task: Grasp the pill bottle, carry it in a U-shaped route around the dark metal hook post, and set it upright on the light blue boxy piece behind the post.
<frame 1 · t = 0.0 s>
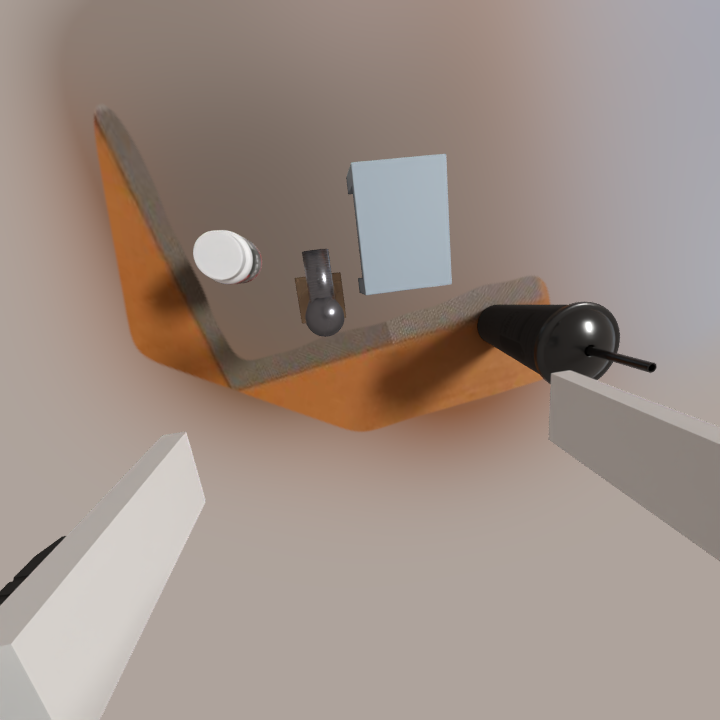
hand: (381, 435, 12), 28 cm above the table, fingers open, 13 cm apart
pill bottle: (240, 260, 36), on the table
light blue boxy piece: (393, 233, 37), on the table
hook post: (320, 297, 38), on the table
drinking cup: (494, 324, 41), on the table
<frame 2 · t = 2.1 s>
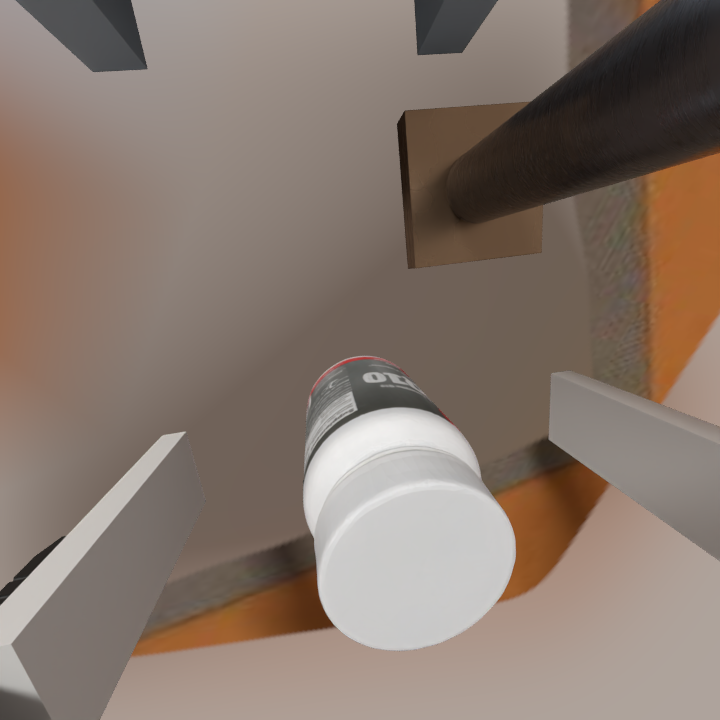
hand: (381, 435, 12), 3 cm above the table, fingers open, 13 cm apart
pill bottle: (361, 404, 15), on the table
hook post: (465, 193, 13), on the table
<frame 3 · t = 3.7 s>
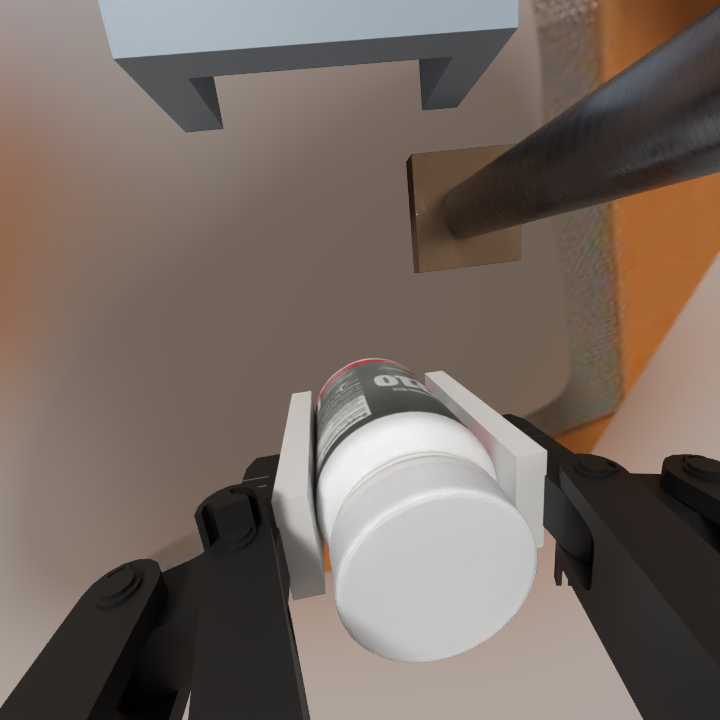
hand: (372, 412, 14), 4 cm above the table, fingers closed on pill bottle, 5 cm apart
pill bottle: (369, 407, 14), point 4 cm above the table, touching gripper
hook post: (460, 213, 16), on the table
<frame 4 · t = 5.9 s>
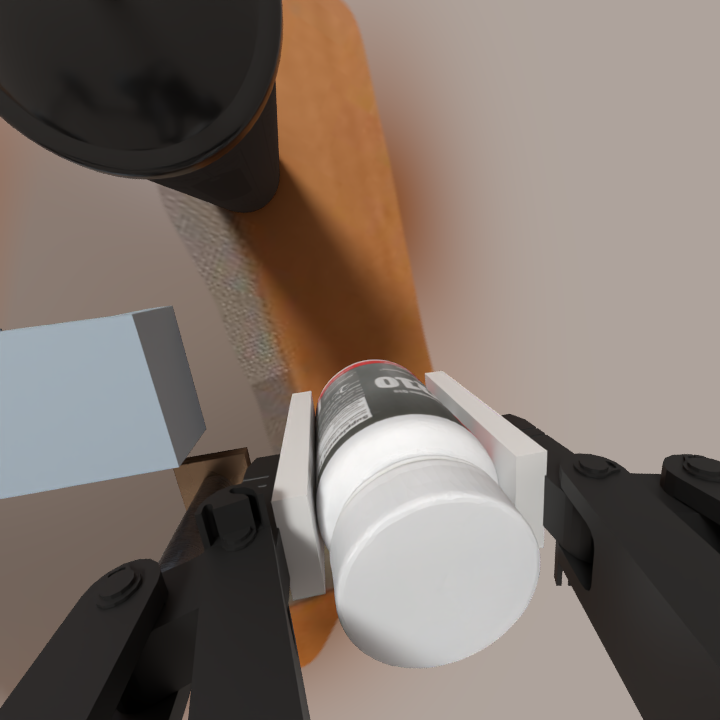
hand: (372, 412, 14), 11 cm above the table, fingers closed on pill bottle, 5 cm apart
pill bottle: (370, 408, 14), point 10 cm above the table, touching gripper
light blue boxy piece: (98, 384, 22), on the table
hook post: (220, 481, 25), on the table
drinking cup: (240, 171, 21), on the table
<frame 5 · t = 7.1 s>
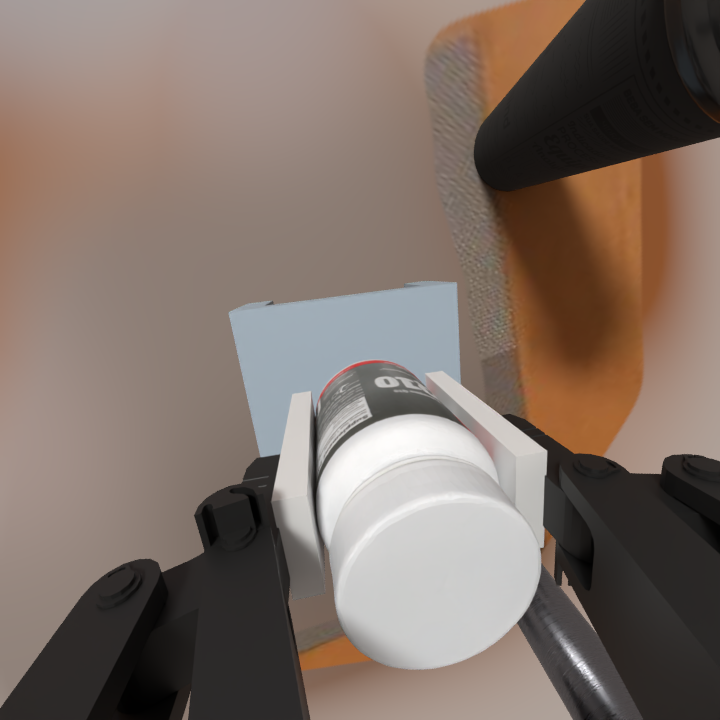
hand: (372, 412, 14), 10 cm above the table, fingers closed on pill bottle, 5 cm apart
pill bottle: (370, 408, 14), point 9 cm above the table, touching gripper
light blue boxy piece: (348, 357, 23), on the table
hook post: (437, 455, 26), on the table
drinking cup: (507, 150, 21), on the table
when the fingers open (6 cm above the table, at t = 7.9 s): pill bottle stays where it is, resting on light blue boxy piece.
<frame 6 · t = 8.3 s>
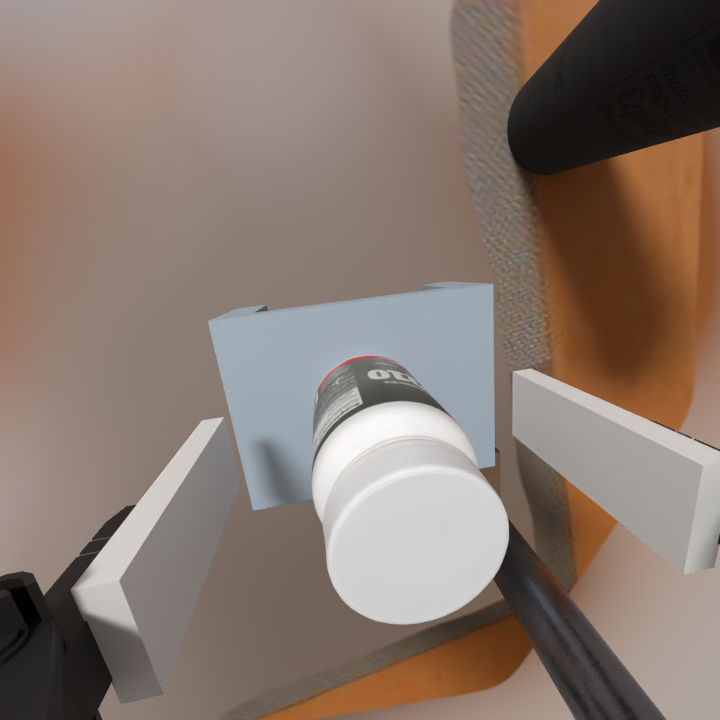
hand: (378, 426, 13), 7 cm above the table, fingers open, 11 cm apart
pill bottle: (365, 401, 15), point 5 cm above the table, touching light blue boxy piece
light blue boxy piece: (355, 370, 20), on the table
hook post: (457, 482, 23), on the table
drinking cup: (547, 126, 18), on the table
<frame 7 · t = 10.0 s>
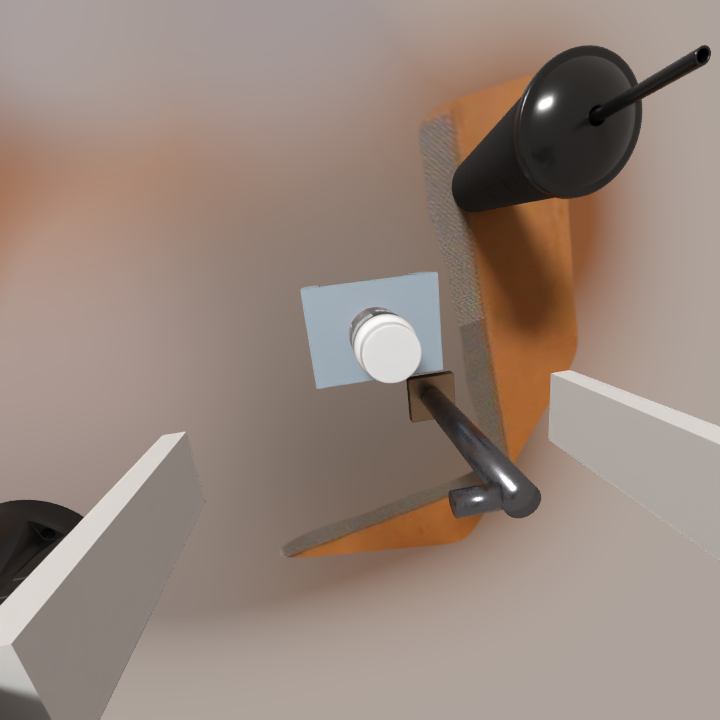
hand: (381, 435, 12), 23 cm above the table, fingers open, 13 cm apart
pill bottle: (374, 332, 30), point 5 cm above the table, touching light blue boxy piece
light blue boxy piece: (368, 323, 34), on the table
hook post: (429, 395, 37), on the table
drinking cup: (475, 185, 32), on the table
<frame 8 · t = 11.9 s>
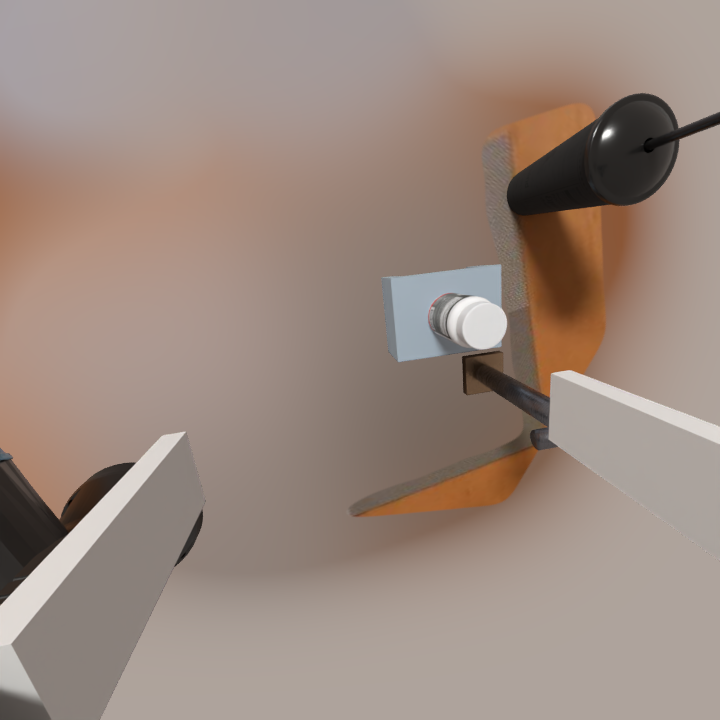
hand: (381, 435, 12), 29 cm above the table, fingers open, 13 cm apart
pill bottle: (447, 314, 36), point 5 cm above the table, touching light blue boxy piece
light blue boxy piece: (433, 309, 41), on the table
hook post: (481, 371, 43), on the table
drinking cup: (525, 193, 39), on the table
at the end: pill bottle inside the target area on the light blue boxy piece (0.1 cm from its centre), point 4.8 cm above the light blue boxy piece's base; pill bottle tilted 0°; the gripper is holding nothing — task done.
